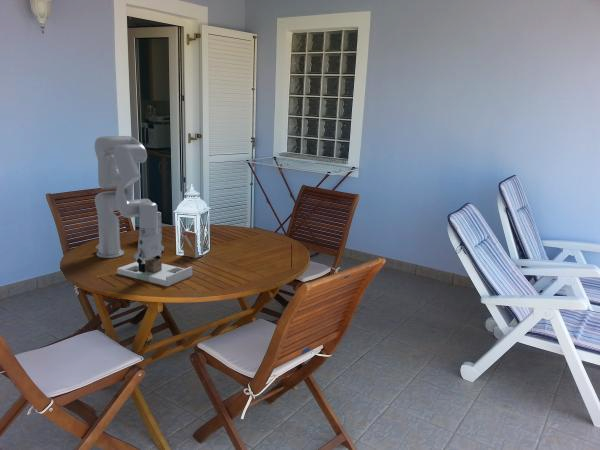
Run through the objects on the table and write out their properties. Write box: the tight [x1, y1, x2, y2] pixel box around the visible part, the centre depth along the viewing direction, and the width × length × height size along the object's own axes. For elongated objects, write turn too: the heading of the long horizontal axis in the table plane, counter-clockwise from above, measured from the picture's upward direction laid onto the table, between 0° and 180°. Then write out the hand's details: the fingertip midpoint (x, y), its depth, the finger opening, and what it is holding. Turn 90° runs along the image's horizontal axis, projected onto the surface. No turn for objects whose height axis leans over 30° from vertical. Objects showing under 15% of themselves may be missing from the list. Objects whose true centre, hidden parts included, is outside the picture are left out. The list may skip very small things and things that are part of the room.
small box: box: [182, 230, 204, 259], centre depth 245 cm, size 8×6×13 cm
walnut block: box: [145, 257, 163, 273], centre depth 214 cm, size 5×5×5 cm
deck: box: [116, 261, 193, 287], centre depth 216 cm, size 29×16×4 cm, turn 63°
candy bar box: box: [157, 211, 163, 242], centre depth 268 cm, size 11×5×16 cm, turn 58°
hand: (150, 268), depth 213 cm, fingers open, 9 cm apart
